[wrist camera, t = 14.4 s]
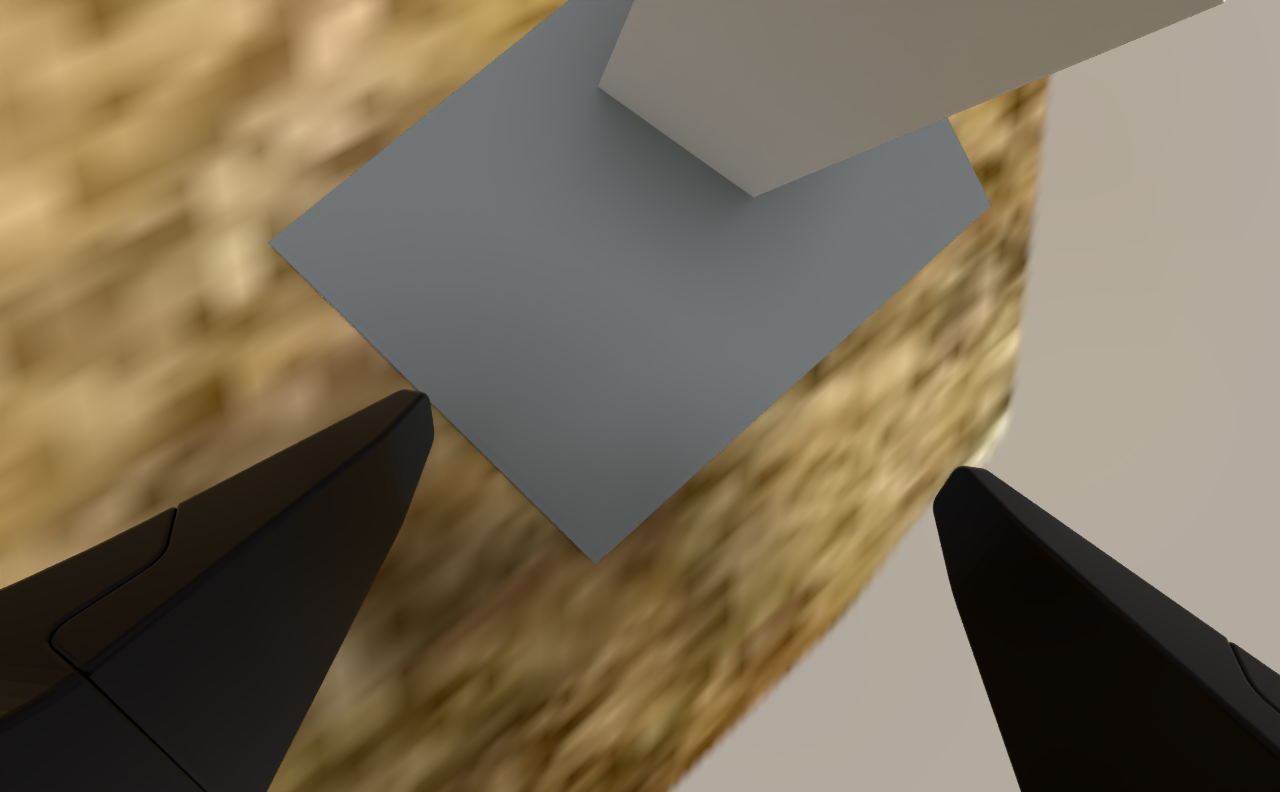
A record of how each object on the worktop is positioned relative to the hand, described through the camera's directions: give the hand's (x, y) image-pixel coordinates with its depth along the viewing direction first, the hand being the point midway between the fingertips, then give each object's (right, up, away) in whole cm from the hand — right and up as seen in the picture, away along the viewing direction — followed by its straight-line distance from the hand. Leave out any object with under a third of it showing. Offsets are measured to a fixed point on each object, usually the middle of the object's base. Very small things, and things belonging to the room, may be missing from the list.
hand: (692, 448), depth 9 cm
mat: (+1, +7, +9) cm, 11 cm away
